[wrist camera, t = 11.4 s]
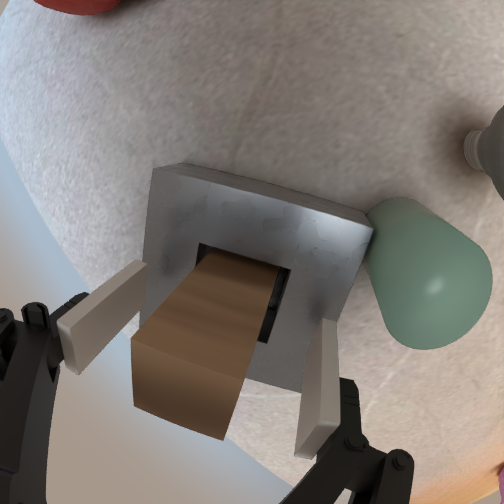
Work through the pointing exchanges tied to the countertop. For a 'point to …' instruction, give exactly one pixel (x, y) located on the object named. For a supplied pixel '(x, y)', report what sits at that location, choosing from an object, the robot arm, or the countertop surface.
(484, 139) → the light bulb
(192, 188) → the bore block
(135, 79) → the countertop surface
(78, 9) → the vegetable
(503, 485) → the teapot
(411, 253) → the green round bit
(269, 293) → the walnut square peg
